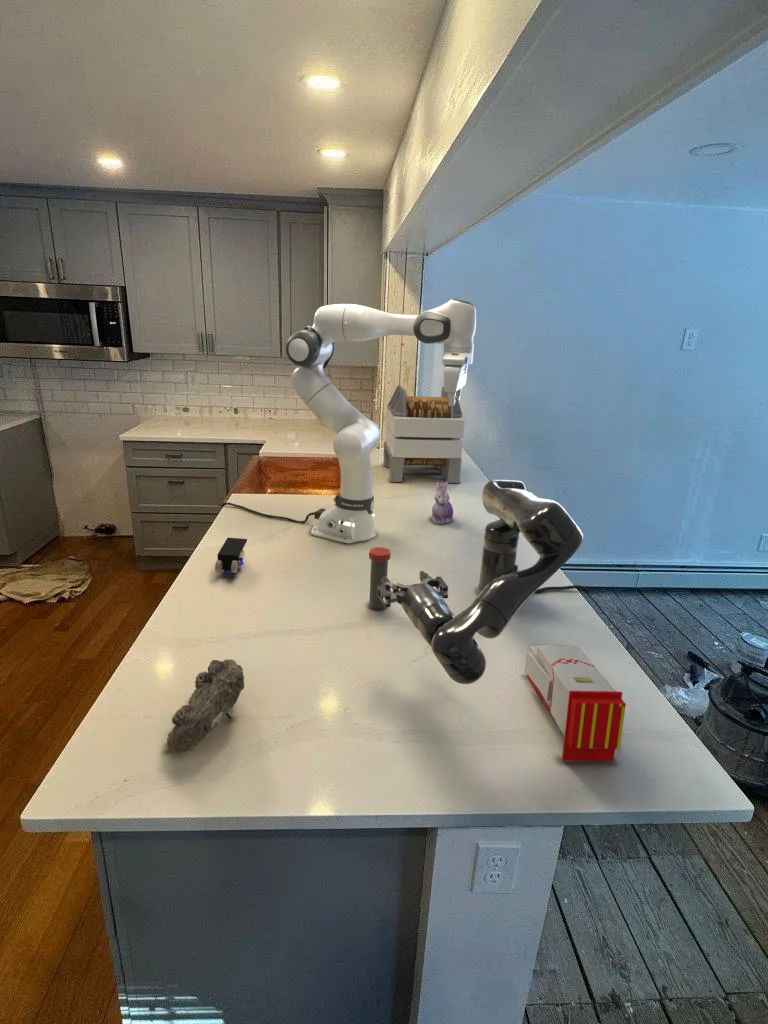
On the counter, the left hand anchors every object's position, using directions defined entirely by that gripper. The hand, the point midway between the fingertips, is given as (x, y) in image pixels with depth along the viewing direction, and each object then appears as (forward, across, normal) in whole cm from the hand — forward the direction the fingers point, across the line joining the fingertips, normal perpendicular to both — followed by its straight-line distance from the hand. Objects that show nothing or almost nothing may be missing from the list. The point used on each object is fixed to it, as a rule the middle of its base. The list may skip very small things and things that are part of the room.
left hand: (454, 403), depth 174 cm
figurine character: (+48, +40, -55) cm, 84 cm away
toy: (+48, +74, +38) cm, 96 cm away
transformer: (+48, -86, -27) cm, 102 cm away
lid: (+32, +46, -9) cm, 57 cm away
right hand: (+29, +64, +2) cm, 70 cm away
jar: (+48, +46, -9) cm, 67 cm away
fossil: (+48, +98, -26) cm, 112 cm away
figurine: (+48, -25, -5) cm, 54 cm away
